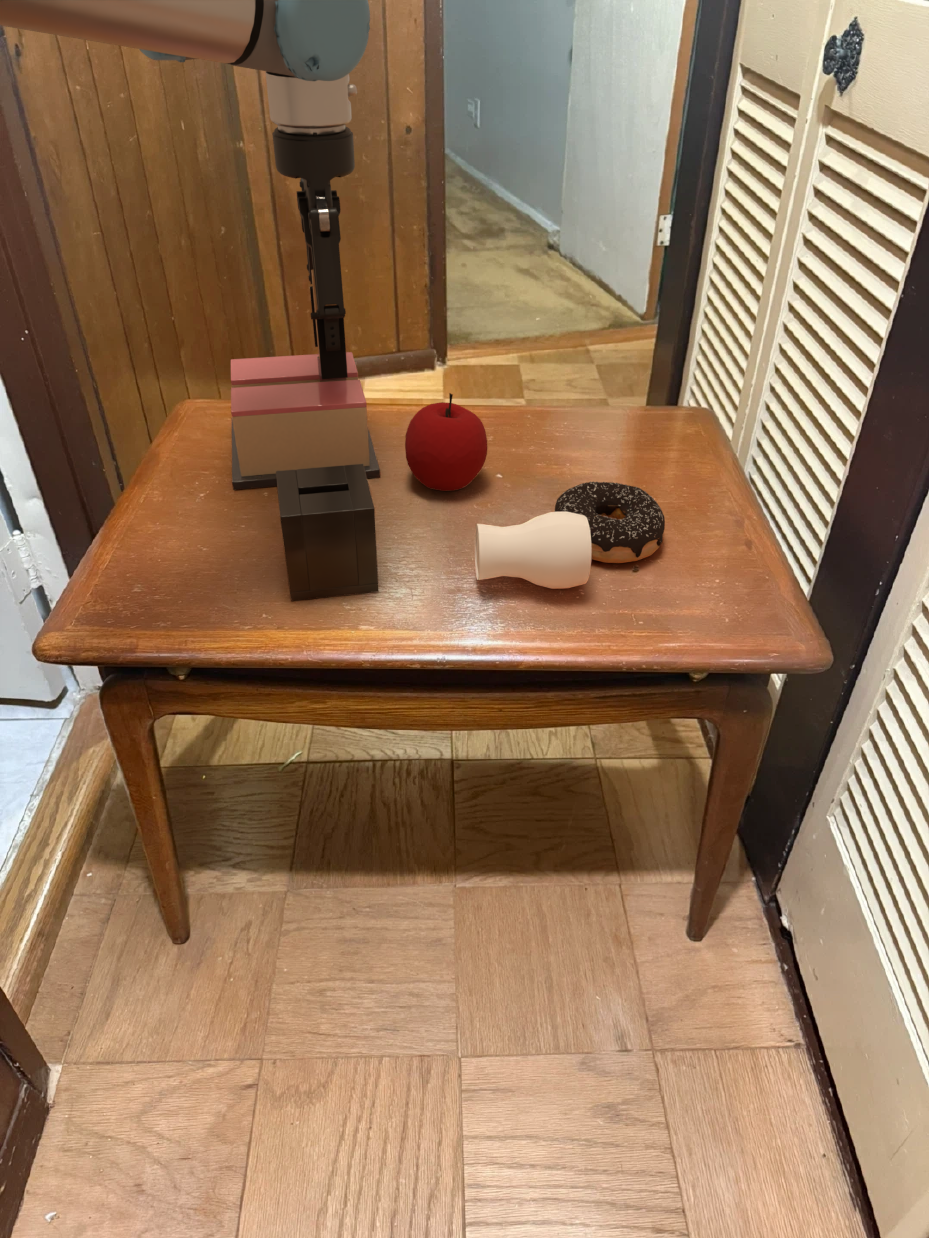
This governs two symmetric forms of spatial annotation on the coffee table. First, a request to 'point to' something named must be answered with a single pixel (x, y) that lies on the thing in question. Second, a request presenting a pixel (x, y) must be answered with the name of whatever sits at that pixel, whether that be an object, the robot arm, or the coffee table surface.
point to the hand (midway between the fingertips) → (330, 360)
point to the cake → (295, 419)
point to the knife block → (328, 531)
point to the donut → (616, 519)
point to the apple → (445, 446)
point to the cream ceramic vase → (537, 550)
